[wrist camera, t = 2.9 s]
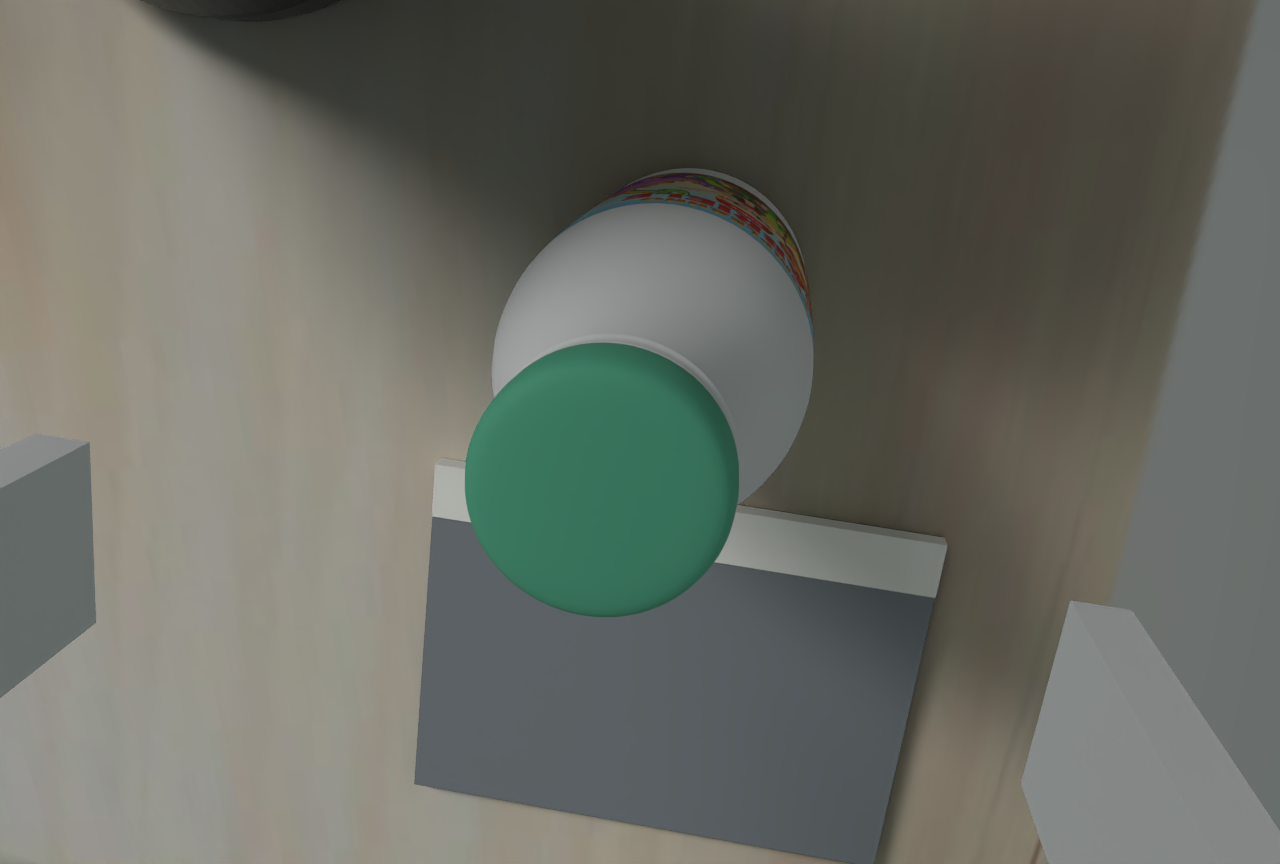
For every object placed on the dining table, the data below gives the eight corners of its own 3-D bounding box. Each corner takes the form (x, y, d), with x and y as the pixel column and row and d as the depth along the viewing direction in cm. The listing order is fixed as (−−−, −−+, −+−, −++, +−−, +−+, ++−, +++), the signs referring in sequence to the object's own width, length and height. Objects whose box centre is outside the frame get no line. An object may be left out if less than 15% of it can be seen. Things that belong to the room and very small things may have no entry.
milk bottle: (761, 425, 38) (744, 766, 19) (548, 354, 38) (323, 624, 19) (840, 208, 36) (909, 354, 17) (612, 134, 36) (424, 195, 17)
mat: (419, 774, 44) (413, 785, 43) (441, 457, 40) (435, 464, 39) (872, 856, 43) (873, 868, 42) (944, 537, 38) (947, 545, 38)
